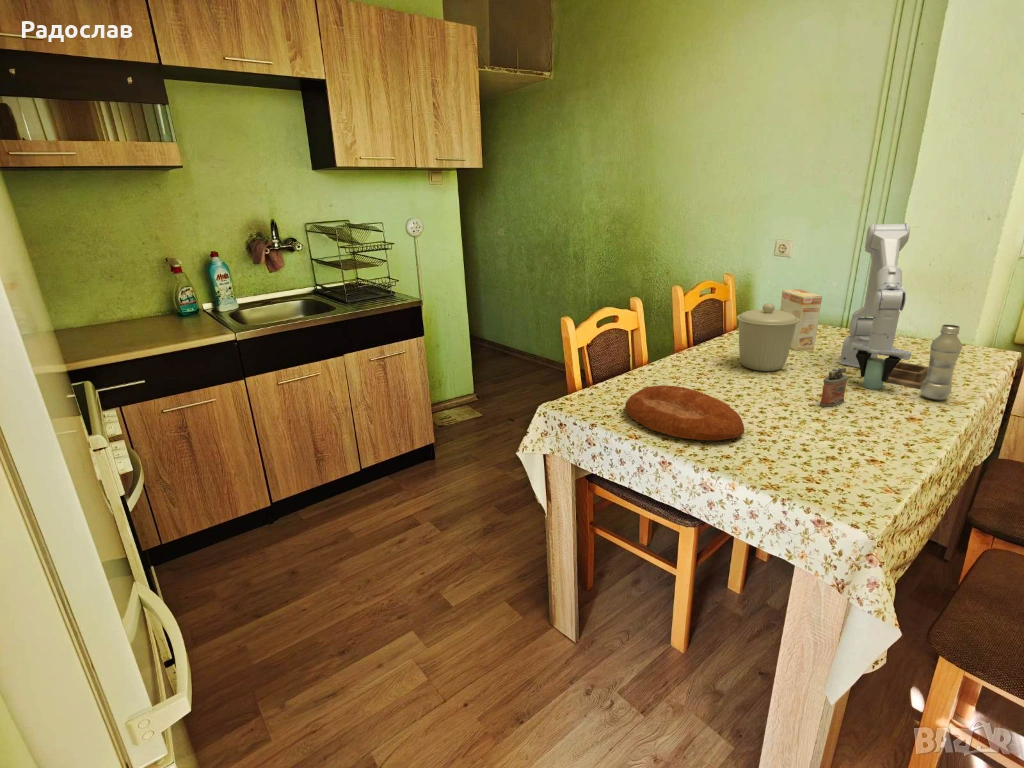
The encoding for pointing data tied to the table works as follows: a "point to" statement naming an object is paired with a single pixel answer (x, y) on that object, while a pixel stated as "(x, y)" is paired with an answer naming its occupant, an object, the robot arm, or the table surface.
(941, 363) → the plastic bottle
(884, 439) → the table surface
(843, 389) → the lighter
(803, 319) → the coffeecake box
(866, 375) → the roll
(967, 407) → the table surface
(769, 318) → the canister
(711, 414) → the bread
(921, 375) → the brown piece
